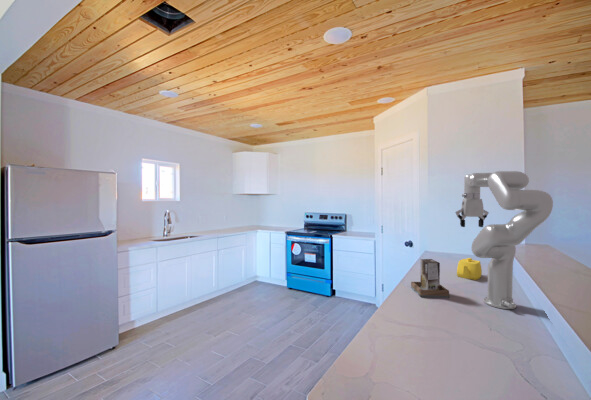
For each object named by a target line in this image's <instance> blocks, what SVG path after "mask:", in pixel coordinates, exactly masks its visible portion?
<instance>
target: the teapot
mask: <svg viewBox="0 0 591 400" xmlns="http://www.w3.org/2000/svg"><path fill="white" fill-rule="evenodd" d="M482 275H483V272H482V264H481V260H474V259H473V258H472V257H467V258H462V259H460V260H458V263H457V268H456V276H457V277H458V278H461V279H466V280H472V281H477V280H479V279H481V278H482Z"/></svg>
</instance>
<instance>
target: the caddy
mask: <svg viewBox="0 0 591 400" xmlns="http://www.w3.org/2000/svg"><path fill="white" fill-rule="evenodd" d="M410 288H411V289H412V291H414V292H415V293H416V294H417V295H418V296H419V297H420V298H443V299H444V298H448V299H449V298H450V290H449V289H447V288H446V287H444V285H442V284H440V287H439V290H423V289H421V281H411V282H410Z"/></svg>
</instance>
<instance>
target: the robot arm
mask: <svg viewBox="0 0 591 400" xmlns="http://www.w3.org/2000/svg"><path fill="white" fill-rule="evenodd" d="M529 183H530V179H529V177H528V175H527V174H526V173H524V172H521V171H517V170H507V171H506V170H504V171H503V170H501V171H500V170H499V171H495V172H494V171H493V172H473V173H471V174H466V175H465V176H464V184H463V185H464V191H463V192H464V193H462V194H461V197H463V199H462V203H461V207H460V209H459V210H457V211H455V214H456V217H457V218H458V219H459V225H460V227H462V228H465V227H466V220H465V219H466V218H467V217H469V218H471V217H472V218H474V217H475V218H478V227H479V228H481V230H480V231H479V232H478V234H477V235H476V237H475V238H474V239H473V241H472V244H471V252H472V254H473V255H474V256H475V257H477V258H480V259H491V260H490V261H489V263H488V266H487V296H486V297H484V298H483V302H484V303H485V304H486V305H488V306H489V307H490V306H491V307H493V308H498V309H502V310H503V309H504V310H513V309H516V308H517V303H515V302H514V298H513V277H514V275H513V271H514V270H513V269H514V267H513V266H514V260H515V255H516V253H517V252H516V251H517V250H516V249H517V248H516V246H518V245H520V244H522V242H523V241H525V239H527V237H528V236H530V234H532V232H534V230H535V229H537V228H538V227H539V226H540V225H542V224H543V223H544V222H545V221H546V220H548V218H549V217H550V215H551V213H552V211H553V208H554V200H553V197H552V196H551V195H550V194H549V193H548V192H546V191H543V190H539V189H524V188H526V187H527V186H528V185H529ZM481 188H489V191H490V192H491V194H492V195H493V197H494V199H495V200H496V202H497V203H498V205H499V207H501V208H502V209H504V210H506V211H521V212H519V213H516V215H514V216H513V217H512V218H511V219H510V220H509V221H508V222H506V223H503V224H501V223H500V224H495V223H494V224H493V223H492V224H487V225H485V226H484V223H485V222H484V221H485V220H486V218H487V217H488V215H489V214H490V213H489V211H487V210H485V209H484V203H483V199H482V198H481Z"/></svg>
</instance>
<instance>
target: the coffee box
mask: <svg viewBox="0 0 591 400" xmlns="http://www.w3.org/2000/svg"><path fill="white" fill-rule="evenodd" d="M440 273H441V265H440V262H439V261H436V260H434V259H432V258H426V259H425V258H424V259H423V258H422V259H421V258H420V282H421V289H423V290H439V287H440V285H441V284H440V279H441V278H440Z"/></svg>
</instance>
